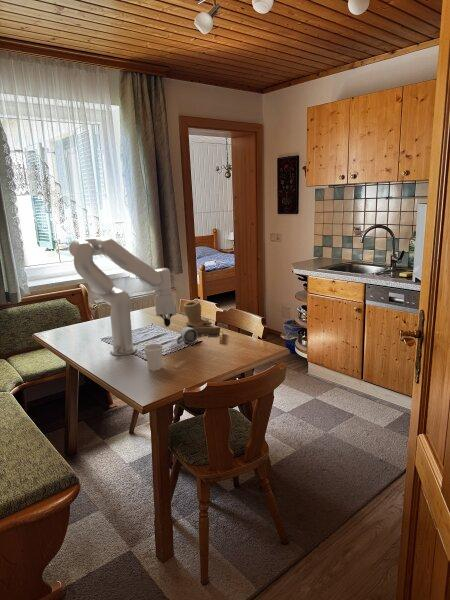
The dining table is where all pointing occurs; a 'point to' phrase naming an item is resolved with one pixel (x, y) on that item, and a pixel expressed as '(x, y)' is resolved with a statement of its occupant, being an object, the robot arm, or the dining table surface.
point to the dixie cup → (153, 356)
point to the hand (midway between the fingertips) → (167, 325)
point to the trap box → (210, 332)
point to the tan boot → (195, 315)
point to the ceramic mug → (187, 335)
